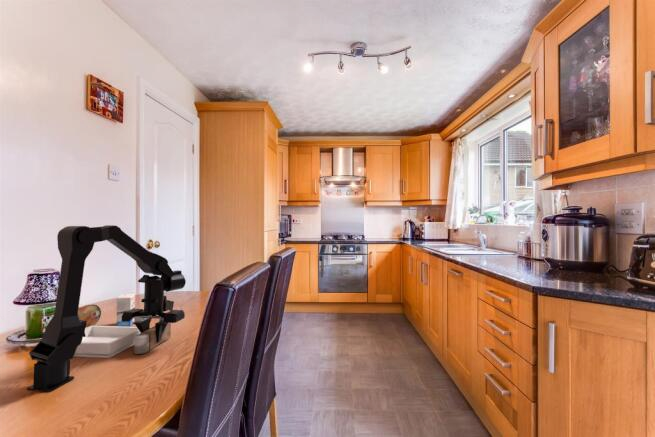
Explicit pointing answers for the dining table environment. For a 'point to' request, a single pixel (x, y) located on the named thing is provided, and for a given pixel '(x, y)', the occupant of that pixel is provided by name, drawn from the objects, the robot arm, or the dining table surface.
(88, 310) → the tin
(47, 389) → the robot arm
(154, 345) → the strut
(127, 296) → the ink box
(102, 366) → the dining table surface
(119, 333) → the bin
